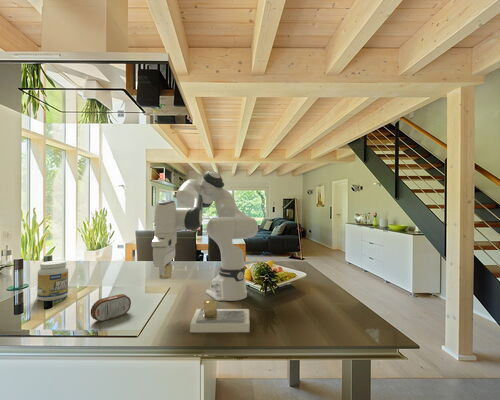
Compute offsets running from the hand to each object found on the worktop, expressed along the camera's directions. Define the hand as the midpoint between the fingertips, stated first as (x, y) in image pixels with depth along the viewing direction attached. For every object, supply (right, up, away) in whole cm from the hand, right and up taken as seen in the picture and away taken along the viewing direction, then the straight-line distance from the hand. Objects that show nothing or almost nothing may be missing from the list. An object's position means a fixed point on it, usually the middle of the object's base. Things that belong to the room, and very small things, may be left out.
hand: (165, 273), depth 117 cm
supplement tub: (-60, -17, +20) cm, 66 cm away
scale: (+24, -17, -9) cm, 31 cm away
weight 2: (+20, -13, -11) cm, 26 cm away
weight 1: (0, -2, 0) cm, 2 cm away
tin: (-20, -17, -4) cm, 27 cm away
